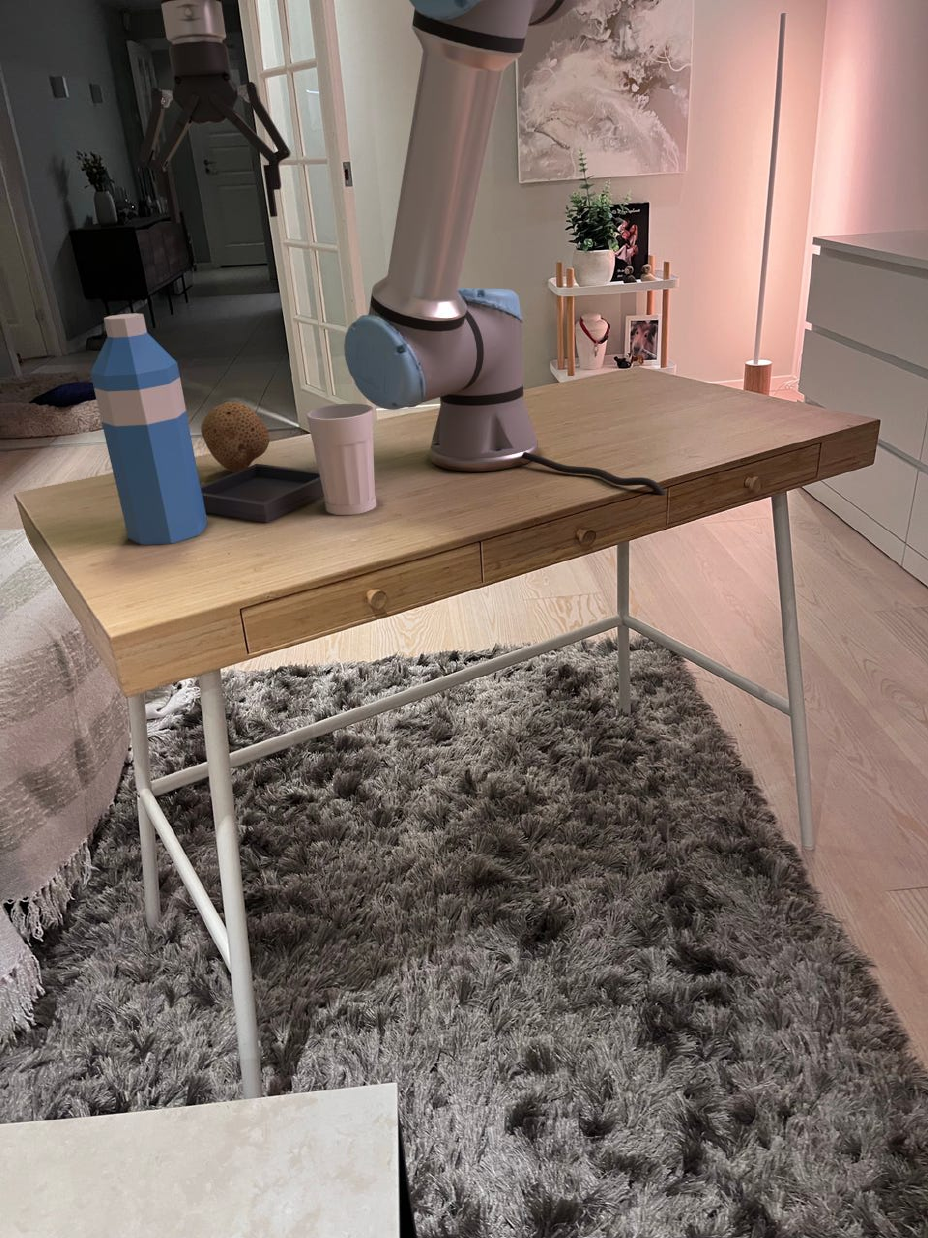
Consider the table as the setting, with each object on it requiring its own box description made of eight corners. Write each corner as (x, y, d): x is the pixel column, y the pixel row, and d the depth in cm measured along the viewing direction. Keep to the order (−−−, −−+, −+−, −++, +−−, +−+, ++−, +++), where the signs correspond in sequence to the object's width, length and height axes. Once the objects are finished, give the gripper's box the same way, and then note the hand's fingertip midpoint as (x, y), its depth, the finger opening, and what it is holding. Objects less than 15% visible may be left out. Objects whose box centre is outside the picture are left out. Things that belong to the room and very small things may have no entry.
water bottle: (126, 526, 116) (78, 316, 105) (203, 513, 119) (164, 307, 108) (130, 550, 108) (78, 325, 97) (212, 536, 111) (170, 316, 100)
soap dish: (335, 490, 124) (333, 473, 123) (266, 522, 114) (263, 504, 113) (258, 479, 131) (256, 463, 130) (187, 509, 120) (183, 492, 119)
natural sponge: (263, 458, 140) (252, 391, 136) (282, 472, 133) (271, 402, 129) (203, 470, 137) (190, 401, 132) (219, 484, 130) (206, 412, 125)
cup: (378, 493, 122) (369, 400, 117) (387, 512, 115) (377, 414, 109) (317, 501, 120) (304, 407, 115) (321, 520, 113) (308, 422, 108)
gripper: (92, 44, 118) (128, 227, 127) (291, 33, 119) (312, 214, 129) (107, 51, 125) (141, 224, 134) (295, 40, 126) (316, 212, 135)
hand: (225, 219), depth 131 cm, fingers open, 13 cm apart
